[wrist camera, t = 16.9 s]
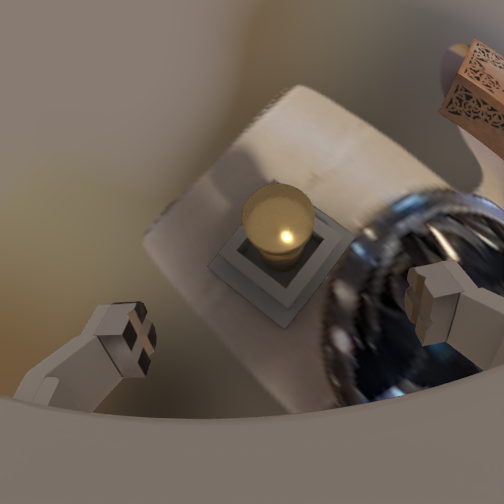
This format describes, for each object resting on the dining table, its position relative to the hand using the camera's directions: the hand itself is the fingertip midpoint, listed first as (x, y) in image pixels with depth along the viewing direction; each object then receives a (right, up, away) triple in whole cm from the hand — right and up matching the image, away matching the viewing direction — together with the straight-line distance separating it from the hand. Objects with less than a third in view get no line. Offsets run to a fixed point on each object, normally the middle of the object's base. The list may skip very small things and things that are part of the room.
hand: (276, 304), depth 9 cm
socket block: (+3, +1, +31) cm, 31 cm away
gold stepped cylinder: (+3, +2, +29) cm, 30 cm away
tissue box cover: (+44, +23, +31) cm, 59 cm away
